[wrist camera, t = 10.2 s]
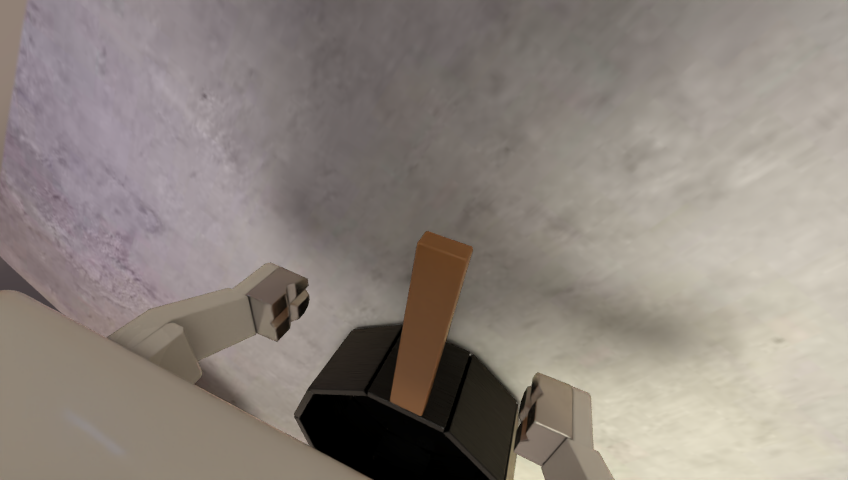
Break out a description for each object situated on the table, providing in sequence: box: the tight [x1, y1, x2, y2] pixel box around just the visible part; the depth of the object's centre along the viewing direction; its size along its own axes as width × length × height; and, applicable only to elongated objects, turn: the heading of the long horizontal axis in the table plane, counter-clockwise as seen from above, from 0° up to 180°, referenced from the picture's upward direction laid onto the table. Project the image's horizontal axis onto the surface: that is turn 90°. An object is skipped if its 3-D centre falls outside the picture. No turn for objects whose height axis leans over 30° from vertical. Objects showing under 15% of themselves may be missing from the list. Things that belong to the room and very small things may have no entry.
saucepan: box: [294, 231, 518, 480], centre depth 18 cm, size 21×13×5 cm, turn 171°
